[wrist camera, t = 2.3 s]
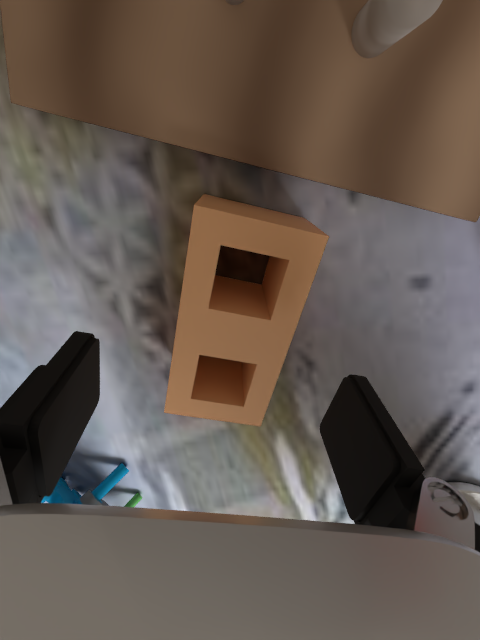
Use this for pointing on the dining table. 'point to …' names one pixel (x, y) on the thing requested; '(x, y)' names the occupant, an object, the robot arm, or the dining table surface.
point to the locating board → (272, 84)
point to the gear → (90, 491)
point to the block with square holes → (238, 310)
